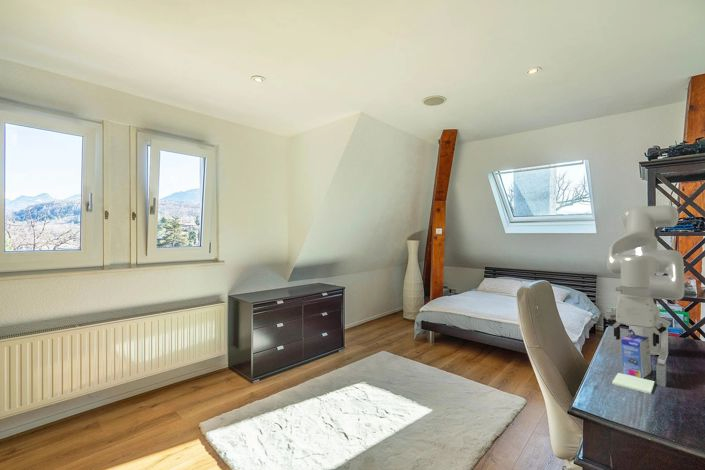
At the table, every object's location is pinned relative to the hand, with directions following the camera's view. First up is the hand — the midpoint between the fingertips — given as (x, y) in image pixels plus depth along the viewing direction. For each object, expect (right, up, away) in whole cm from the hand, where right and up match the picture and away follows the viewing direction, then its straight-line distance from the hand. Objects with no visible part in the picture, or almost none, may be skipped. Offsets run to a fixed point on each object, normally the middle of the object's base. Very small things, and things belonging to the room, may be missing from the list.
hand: (635, 342), depth 110 cm
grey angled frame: (+3, -4, 0) cm, 5 cm away
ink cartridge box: (0, -11, 0) cm, 11 cm away
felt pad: (-8, -10, -8) cm, 16 cm away
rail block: (+1, -10, -8) cm, 13 cm away
